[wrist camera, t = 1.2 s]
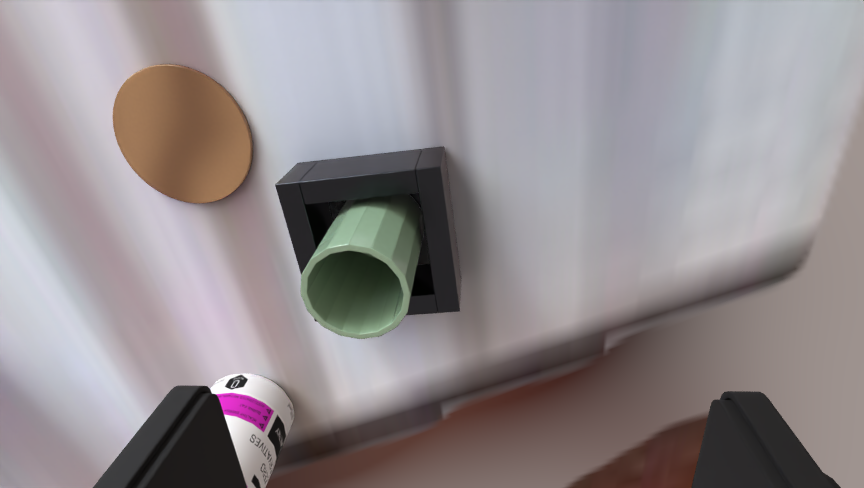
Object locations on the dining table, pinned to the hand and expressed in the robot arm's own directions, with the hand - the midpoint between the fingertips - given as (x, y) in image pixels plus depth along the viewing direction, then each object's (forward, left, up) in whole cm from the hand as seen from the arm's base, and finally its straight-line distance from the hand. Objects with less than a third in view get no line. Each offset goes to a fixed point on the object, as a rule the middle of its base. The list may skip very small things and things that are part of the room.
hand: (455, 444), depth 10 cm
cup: (-5, -9, -27) cm, 29 cm away
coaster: (-20, -5, -27) cm, 34 cm away
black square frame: (-5, -9, -27) cm, 29 cm away
